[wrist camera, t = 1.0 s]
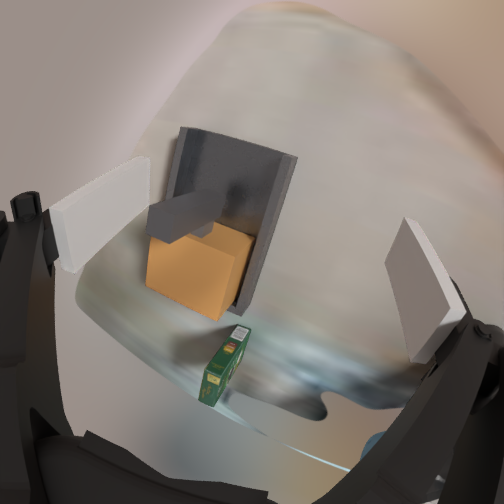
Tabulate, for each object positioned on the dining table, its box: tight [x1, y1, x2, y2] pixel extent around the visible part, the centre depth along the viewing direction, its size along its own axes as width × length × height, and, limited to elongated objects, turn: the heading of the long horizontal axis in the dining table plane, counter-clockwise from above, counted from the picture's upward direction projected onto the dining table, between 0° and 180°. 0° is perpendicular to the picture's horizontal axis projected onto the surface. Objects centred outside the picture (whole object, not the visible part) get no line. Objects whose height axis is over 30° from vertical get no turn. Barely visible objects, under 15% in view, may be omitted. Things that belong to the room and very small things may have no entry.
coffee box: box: [198, 324, 251, 407], centre depth 45 cm, size 8×3×13 cm, turn 166°
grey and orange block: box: [145, 188, 256, 321], centre depth 37 cm, size 16×12×16 cm
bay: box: [165, 127, 298, 316], centre depth 42 cm, size 24×16×4 cm, turn 164°
